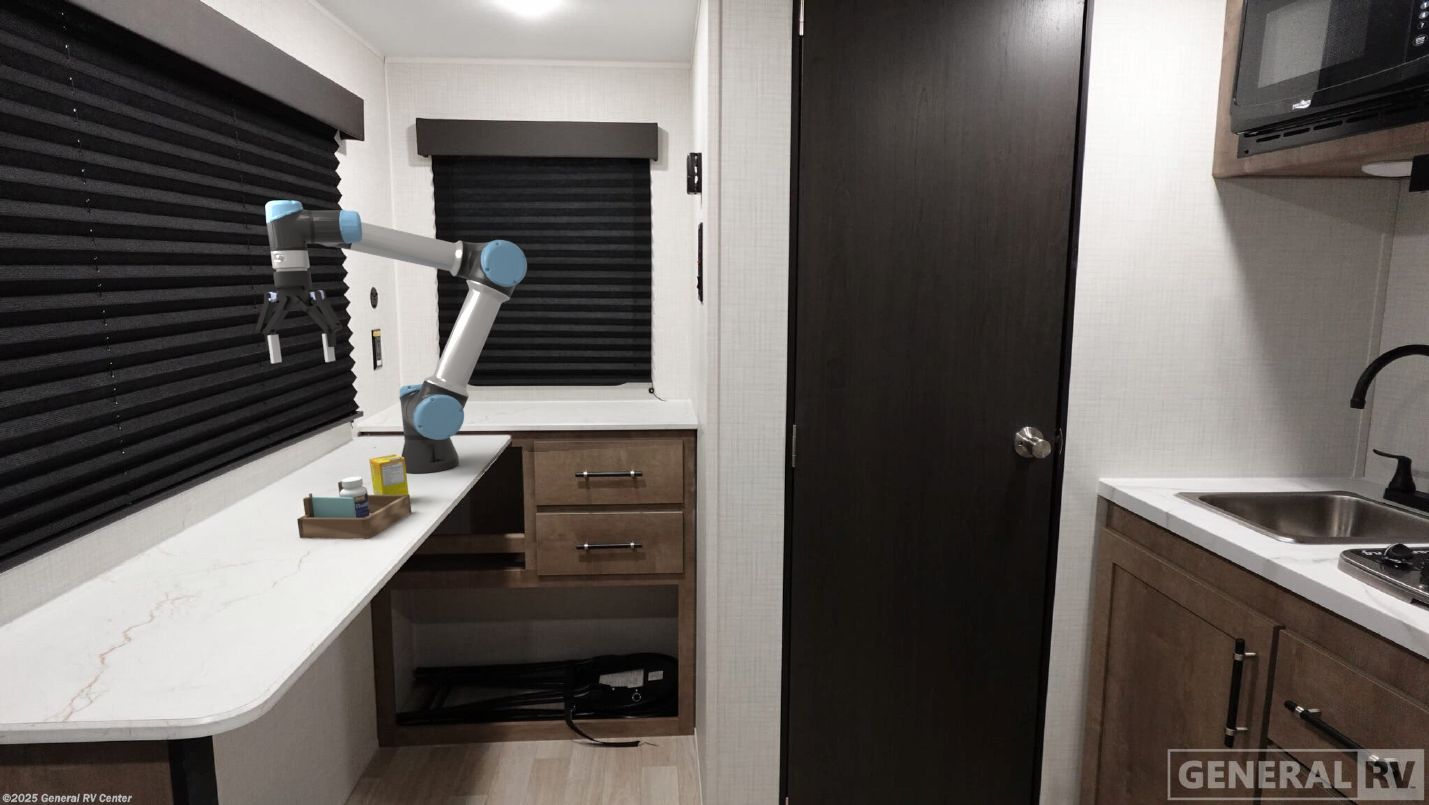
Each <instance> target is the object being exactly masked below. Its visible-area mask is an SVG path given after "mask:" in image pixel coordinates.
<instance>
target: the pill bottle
mask: <svg viewBox="0 0 1429 805" xmlns="http://www.w3.org/2000/svg"><path fill="white" fill-rule="evenodd" d="M341 481H342V487H344V489H343V490H341V491H340V495H339V497H349V498H354V503H355V511H356V518H365V517H367V516H369V515H371V513H370V511H369V502H368V495H369V494H368V492H369V491H368V488H367V487H365V486H363V485H364V484H363V483H364V482H363V477H362V476H350V477H346V478H343V479H341Z"/></svg>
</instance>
